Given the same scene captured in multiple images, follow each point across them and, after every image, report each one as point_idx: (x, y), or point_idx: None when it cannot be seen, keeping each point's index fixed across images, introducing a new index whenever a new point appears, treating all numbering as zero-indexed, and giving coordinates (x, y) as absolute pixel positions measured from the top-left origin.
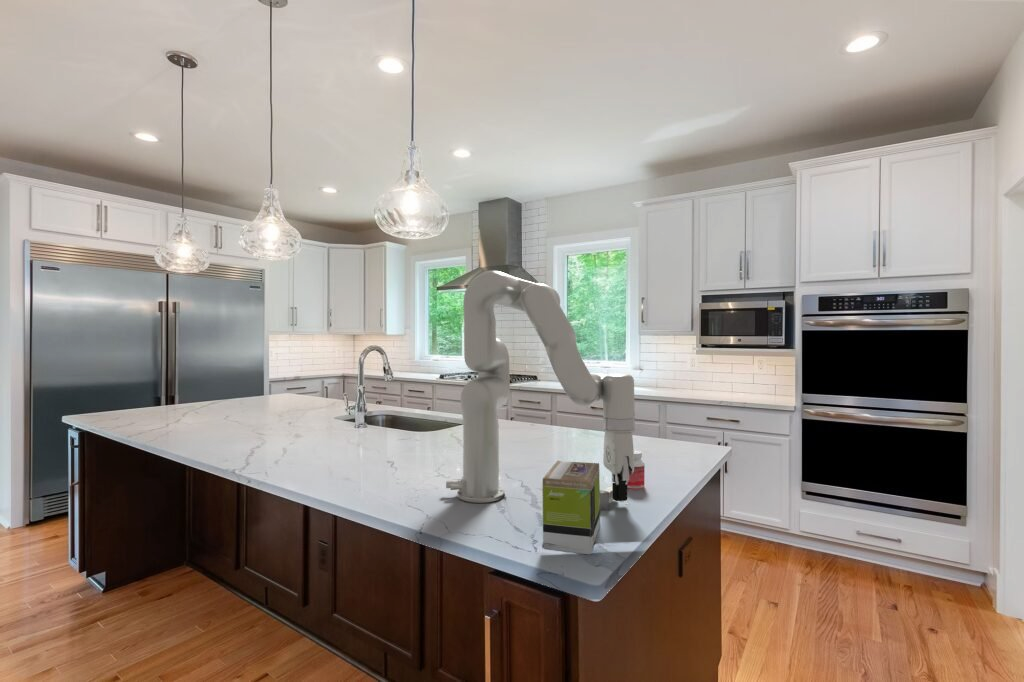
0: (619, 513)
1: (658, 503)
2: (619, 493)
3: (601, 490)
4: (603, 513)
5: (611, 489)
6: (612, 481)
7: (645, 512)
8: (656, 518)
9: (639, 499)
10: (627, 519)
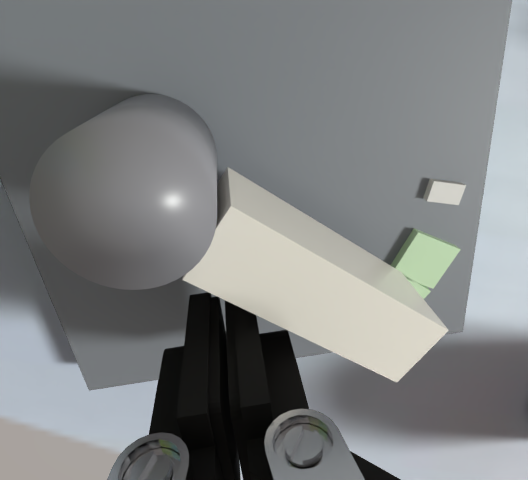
0: None
1: None
2: (161, 381)
3: (216, 209)
4: None
5: (325, 323)
6: (315, 412)
7: None
8: (126, 442)
9: (452, 407)
10: None
